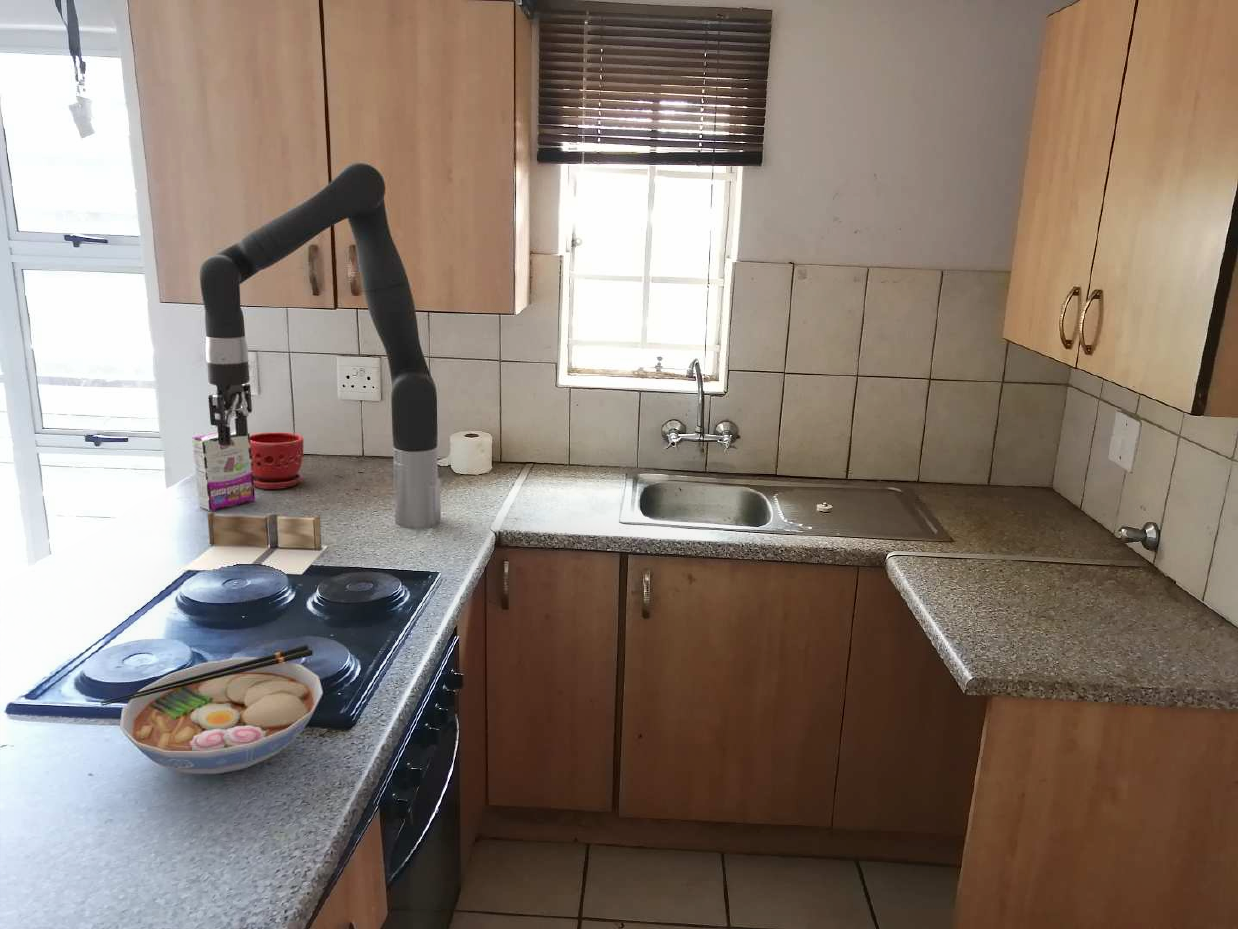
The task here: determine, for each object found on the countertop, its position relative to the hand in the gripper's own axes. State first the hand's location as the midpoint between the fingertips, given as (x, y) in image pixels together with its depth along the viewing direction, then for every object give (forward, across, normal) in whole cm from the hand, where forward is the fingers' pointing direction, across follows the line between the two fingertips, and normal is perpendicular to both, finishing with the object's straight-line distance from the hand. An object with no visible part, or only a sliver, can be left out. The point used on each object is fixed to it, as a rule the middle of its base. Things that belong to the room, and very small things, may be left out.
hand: (233, 440), depth 183 cm
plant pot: (+20, +36, +6) cm, 41 cm away
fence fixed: (+20, -8, -14) cm, 26 cm away
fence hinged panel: (+19, -8, -3) cm, 21 cm away
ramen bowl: (+20, -78, -32) cm, 87 cm away
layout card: (+20, -14, -9) cm, 26 cm away
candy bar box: (+20, +19, +11) cm, 30 cm away
